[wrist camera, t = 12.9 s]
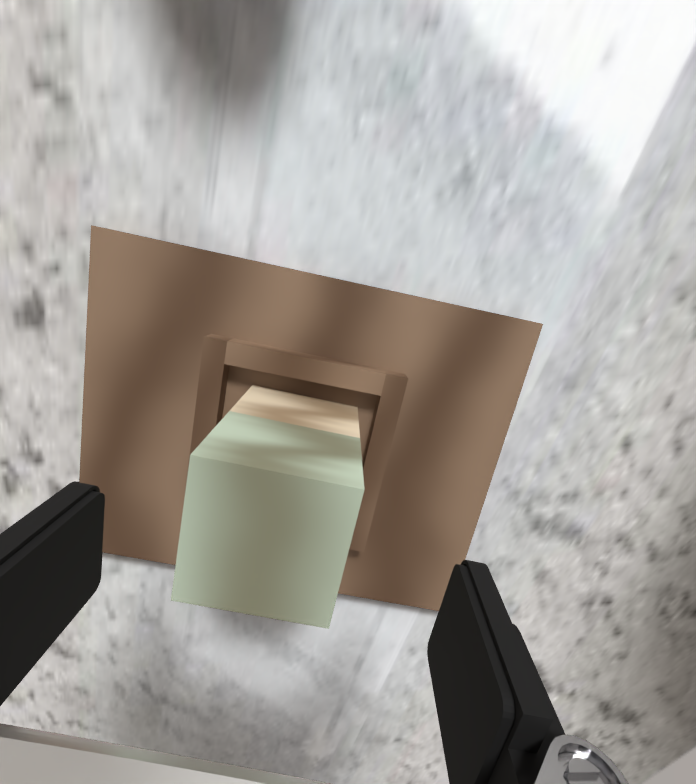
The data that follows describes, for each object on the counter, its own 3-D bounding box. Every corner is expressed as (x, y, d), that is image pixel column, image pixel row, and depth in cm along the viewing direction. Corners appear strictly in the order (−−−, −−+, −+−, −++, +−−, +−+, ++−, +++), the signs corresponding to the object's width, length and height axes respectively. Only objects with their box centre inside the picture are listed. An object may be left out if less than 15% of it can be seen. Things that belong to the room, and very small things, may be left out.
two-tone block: (357, 406, 20) (364, 489, 12) (335, 499, 21) (328, 628, 13) (252, 384, 19) (190, 455, 12) (236, 480, 21) (170, 600, 13)
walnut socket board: (533, 321, 20) (553, 326, 18) (443, 598, 24) (452, 627, 22) (104, 228, 18) (76, 222, 17) (87, 536, 23) (63, 560, 21)
